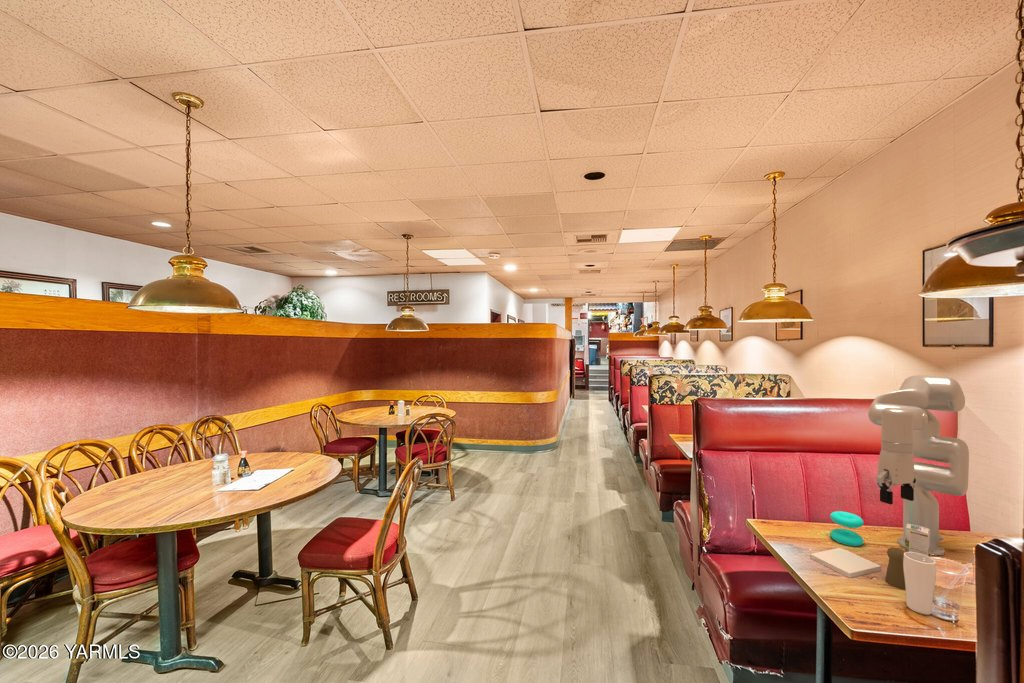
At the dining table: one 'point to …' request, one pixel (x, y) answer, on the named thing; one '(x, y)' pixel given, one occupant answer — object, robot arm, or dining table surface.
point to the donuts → (844, 534)
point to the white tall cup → (919, 581)
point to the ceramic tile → (845, 562)
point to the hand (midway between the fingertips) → (896, 501)
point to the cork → (895, 568)
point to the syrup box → (917, 539)
